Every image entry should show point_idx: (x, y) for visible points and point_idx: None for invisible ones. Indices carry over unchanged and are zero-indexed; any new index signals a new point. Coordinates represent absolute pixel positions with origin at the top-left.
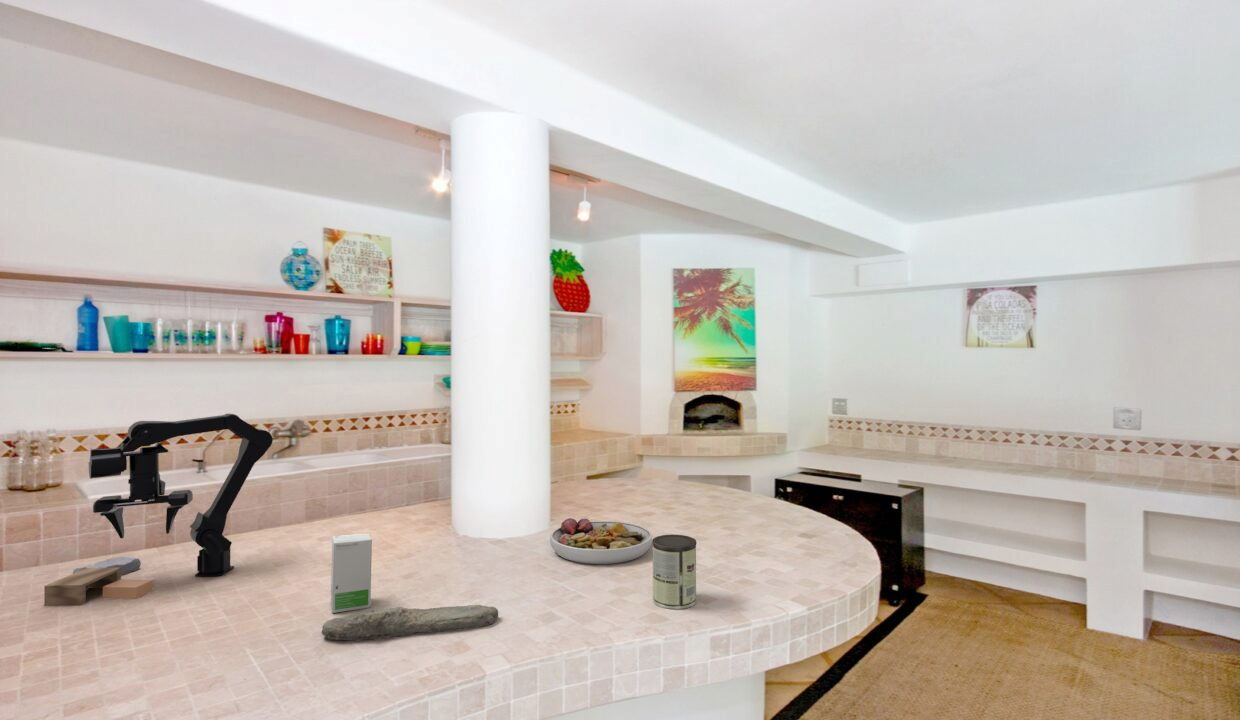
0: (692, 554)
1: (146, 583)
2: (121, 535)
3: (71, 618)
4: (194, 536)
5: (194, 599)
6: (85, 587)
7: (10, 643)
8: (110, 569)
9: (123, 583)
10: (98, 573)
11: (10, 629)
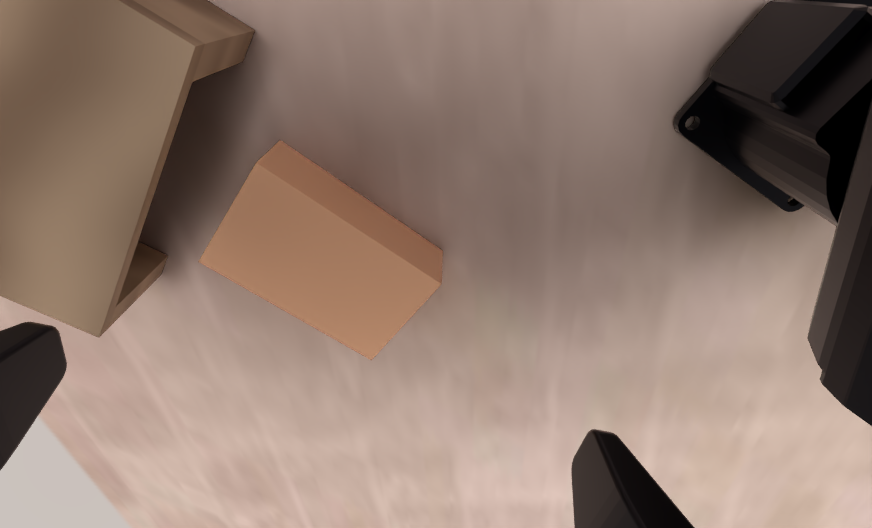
0: None
1: (412, 312)
2: (28, 416)
3: (192, 403)
4: (853, 347)
5: None
6: (121, 302)
7: (105, 496)
8: (128, 64)
9: (295, 262)
10: (81, 135)
11: None
